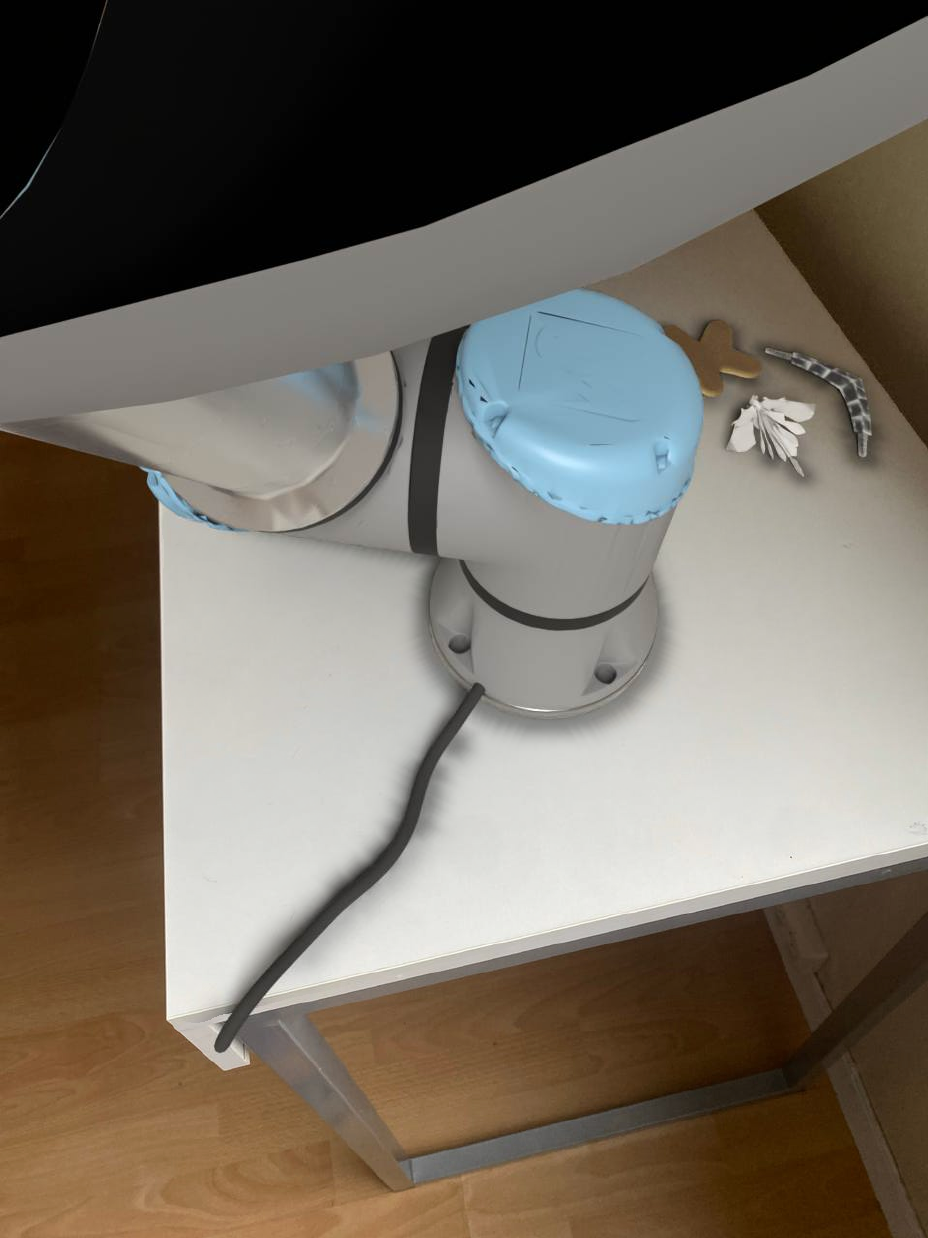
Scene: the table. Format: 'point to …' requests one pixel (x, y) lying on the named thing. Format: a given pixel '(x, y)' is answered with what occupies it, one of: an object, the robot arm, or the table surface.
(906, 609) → the table surface
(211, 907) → the table surface
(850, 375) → the patterned boomerang
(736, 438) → the flower
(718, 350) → the cookie
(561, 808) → the table surface
